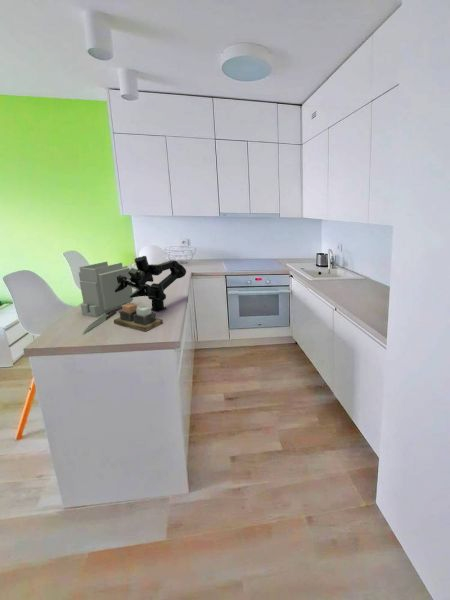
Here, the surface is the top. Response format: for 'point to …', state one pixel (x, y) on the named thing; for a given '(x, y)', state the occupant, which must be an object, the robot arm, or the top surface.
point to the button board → (138, 321)
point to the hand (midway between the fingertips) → (122, 294)
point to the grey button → (143, 311)
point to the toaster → (103, 288)
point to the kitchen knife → (98, 321)
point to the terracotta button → (129, 308)
